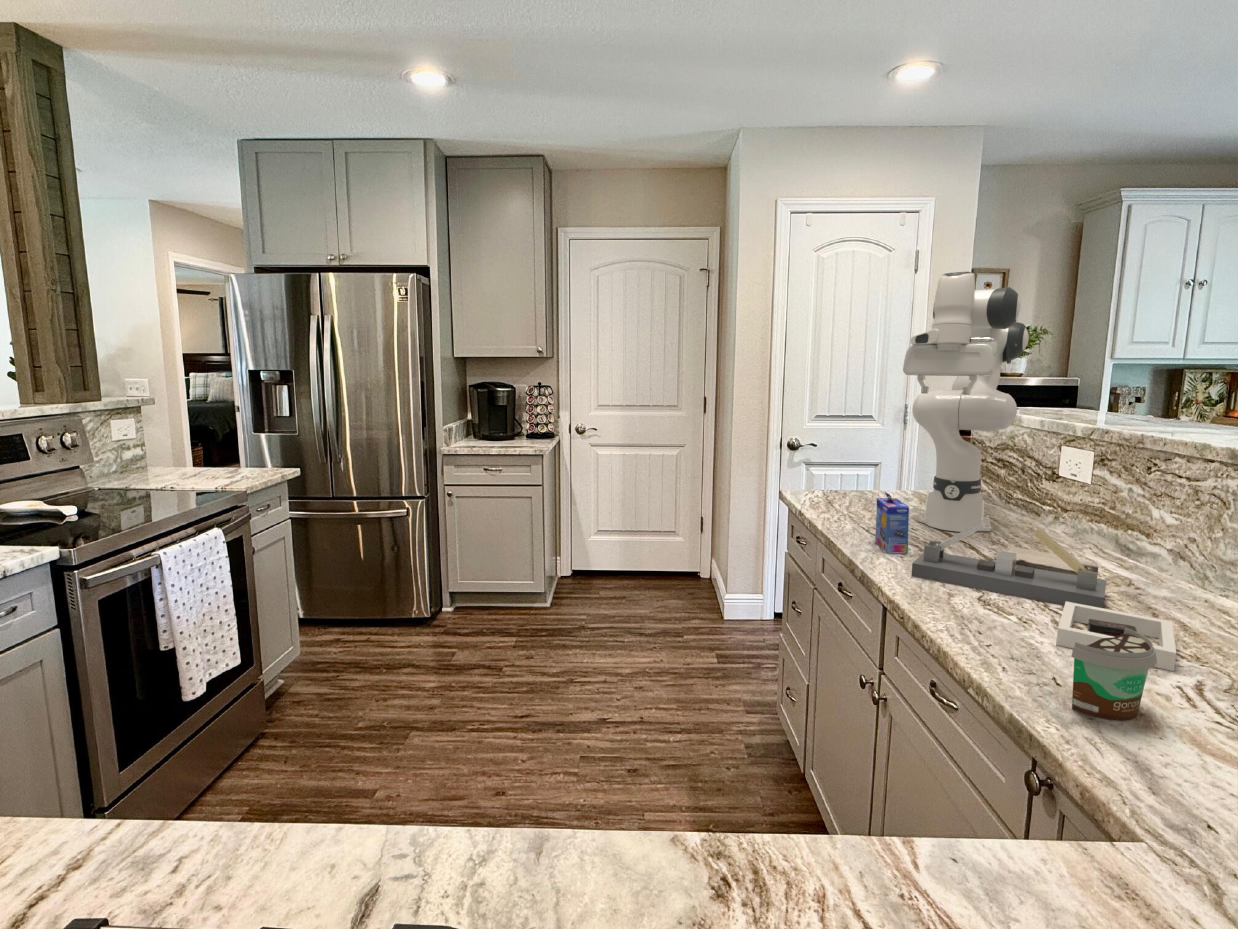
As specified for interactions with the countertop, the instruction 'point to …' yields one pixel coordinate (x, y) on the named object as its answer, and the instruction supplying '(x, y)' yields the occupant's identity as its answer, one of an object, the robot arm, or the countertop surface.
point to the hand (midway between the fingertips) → (944, 394)
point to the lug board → (1011, 577)
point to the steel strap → (961, 535)
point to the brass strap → (1059, 550)
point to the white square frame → (1141, 623)
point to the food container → (1112, 675)
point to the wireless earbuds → (1108, 627)
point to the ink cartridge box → (892, 525)
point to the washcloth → (1042, 560)
